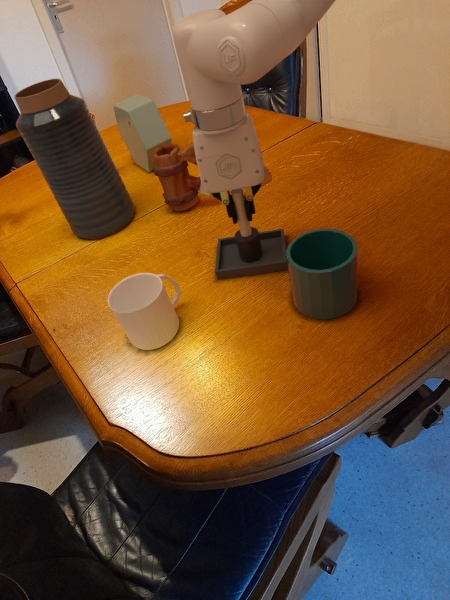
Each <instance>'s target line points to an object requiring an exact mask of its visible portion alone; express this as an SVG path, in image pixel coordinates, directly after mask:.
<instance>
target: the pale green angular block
mask: <svg viewBox="0 0 450 600" xmlns="http://www.w3.org/2000/svg"><path fill="white" fill-rule="evenodd" d="M112 107H113V111H114V117H115V121H116V126H117V132H119V135H120V137H121V139H122V141H123V142H124V145H125V147H126V148H127V150H128V152H129V154H130V156H131V158H132V160H133V162H134V163H135V165H137V166H138V167H140V168H142V170H145V171H146V172H148V173H151V172H153V171H154V168H153V165H154V161H153V158H152V152H153V151H154V150H155V149H156V148H158V147H160V146H163V147H164V146H166V145H169V144H173V143H172V136H171V134H170V132H169V130H168V127H167V125H166V124H165V122H164V119H163V117H162V115H161V113H160V111H159V109H158V107H157V105H156V102H155V100H154V99H152V98H150V97H146V96H144V95H141V94H135V95H133V96H130V97H128V98H126V99H124V100H122V101H119V102H117V103H115V104H113V106H112Z"/></svg>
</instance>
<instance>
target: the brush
mask: <svg viewBox="0 0 450 600" xmlns="http://www.w3.org/2000/svg"><path fill="white" fill-rule="evenodd" d="M230 194H231V195H232V198H233V202H234V206H235V211H236V215H237V219H238V223H237V224H238V228H239V229H238V230H237V231H236V232H235V234H234V236H235V239H236V243H237V247H238V251H239V255H240V259H241V260H242V261H244V262H253V261H256V260H258V259H259V258H260V257H261V256H262V248H261V243H260V238H259V233H258V232H259V230H258V228H256V227H254V226H251V221H250V222H249V221H248V219H247V214H246V209H245V205H244V195H245V193H244V188H241V189H235V190H230Z"/></svg>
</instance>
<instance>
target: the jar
mask: <svg viewBox="0 0 450 600" xmlns="http://www.w3.org/2000/svg"><path fill="white" fill-rule="evenodd" d="M358 249H359V248H358V244H357V241H356V240H355V239H354V237H352V235H350V234H349V233H347V232H345V231H343V230H339V229H336V228H335V229H334V228H317V229H311V230H308V231H306V232H302V233H301V234H299V235H297V236H296V237H295V238H293V239H292V240H291V242H290V243H288V246H287V247H286V255H287V263H288V275H289V283H290V289H291V296H292V301H293V305H294V308H296V310H297V311H298V312H299V313H301V314H302V315H303V316H306V317H308V318H310V319H314V320H322V321H324V320H325V321H326V320H333V319H337V318H340V317H342V316H344V315H346V314H347V313H349V312H350V311H351V310H352V309H353V308H354V306H355V305H356V303H357V299H358V269H359V268H358V266H359V265H358V263H359V262H358V261H359V258H358V257H359V256H358V255H359V252H358V251H359V250H358Z"/></svg>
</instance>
